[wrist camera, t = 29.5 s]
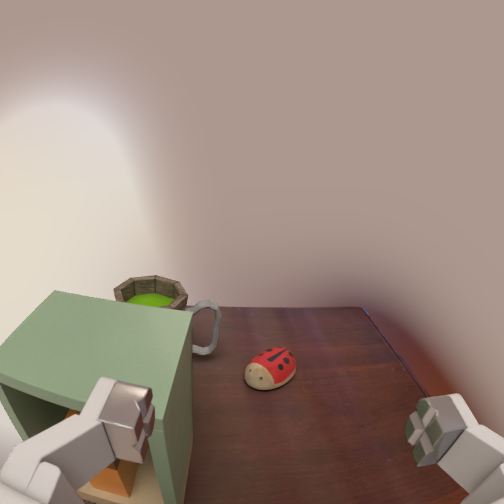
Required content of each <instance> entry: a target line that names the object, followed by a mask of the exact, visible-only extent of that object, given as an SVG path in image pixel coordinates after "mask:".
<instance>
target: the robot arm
mask: <svg viewBox="0 0 504 504" xmlns="http://www.w3.org/2000/svg"><path fill="white" fill-rule="evenodd" d="M152 398H153V393H152V388H150V387H145V386H141V385H136V384H132V383H128V382H123V381H119V380H114V379H110V378H106V377H103V376H102V377H101V378H100V379H99V380H98V381H97V383H96V385H95V387H94V388H93V390H92V392H91V394H90V396H89V398H88V400H87V402H86V404H85V406H84V407H83V409H82V411H81V413H80V415H77V414H74V415H72V416H70V417H69V418H67V419H65V420H63V421H61V422H59V423H58V424H56V425H54V426H52V427H50V428H48V429H46V430H44V431H43V432H41V433H39V434H37V435H35V436H33V437H31V438H29V439H27V440H25V441H23V442H21V443H20V444H18V445H16V446H14V448H13V450H12V452H11V453H10V455H9V457H8V458H7V460H6V462H5V464H4V466H3V468H2V469H1V471H0V504H85V503H84V502H83V501H82V499H81V498H80V497H79V495H78V494H77V493H76V491H77V490H78V489H80V488H81V487H82V486H84V485H85V484H86V483H87V482H89V481H90V480H91V479H92V478H94V477H95V476H96V475H97V474H99V473H100V472H101V471H102V470H104V469H105V468H106V467H107V466H109V465H110V464H111V463H112V462H113V461H115V460H116V459H115V458H117V459H122V460H126V461H131V462H135V463H140V464H144V460H145V457H146V453H147V450H148V442H147V438H148V437H150V436H151V435H152V432H153V429H154V423H155V407H154V405H153V404H152V403H151V401H152ZM415 408H416V411H415V412H414V413H412V414H411V415H410V416H409V417H408V419H407V421H406V424H405V437H406V439H407V442H409V443H410V444H411V445H413V448H412V451H411V452H412V455H413V457H414V460H415V462H416V465H417V467H418V466H423V465H429V464H433V463H437V464H438V465H439V466H440V467H441V468H442V469H443V470H444V471H445V472H446V473H447V474H449V475H450V476H451V477H452V478H453V479H454V480H455V481H456V482H457V483H458V484H459V485H460V486H461V487H463V488H464V489H465V490H466V491H467V492H468V493H469V495H468V496H467V497H466V498H465V499H464V500H463V501H462V502H461V504H504V438H502V437H501V436H499V435H498V434H496V433H494V432H493V431H491V430H490V429H488V428H487V427H485V426H483V425H479V424H478V422H477V421H476V419H475V418H474V416H473V414H472V413H471V411H470V409H469V408H468V406H467V405H466V403H465V401H464V399H463V398H462V396H461V395H459V394H458V393H457V394H450V395H443V396H436V397H428V398H422V399H420V400H419V401H418V402H417V404H416V406H415Z"/></svg>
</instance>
